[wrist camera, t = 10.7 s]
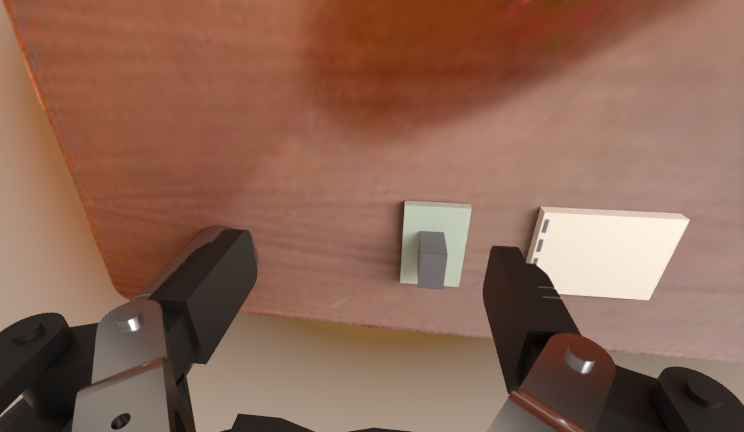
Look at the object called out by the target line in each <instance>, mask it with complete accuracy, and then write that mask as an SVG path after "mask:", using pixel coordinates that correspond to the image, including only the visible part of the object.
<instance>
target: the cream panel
mask: <svg viewBox="0 0 744 432" xmlns="http://www.w3.org/2000/svg"><path fill="white" fill-rule="evenodd" d="M688 222H689V219H688V218H686V217H685V216H683V215H682V214H675V213H655V212H635V211H615V210H596V209H576V208H556V207H540V211H539V215H538V219H537V222H536V226H535V230H534V233H533V237H532V241H531V245H530V248H529V252H528V256H527V259H526V263H530V264H536V265H537V266H538V267H539V268H541V269H542V270H543V271H544V272H545V273H546V274H548V276H549V278H550V280H551V281H552V283H553V285H554V289H556V290H557V292H558V294H568V295H582V296H597V297H611V298H626V299H640V300H649V299H650V297H651V295H652V293H653V291H654V289H655V287H656V285H657V283H658V281H659V279H660V277H661V275H662V274H663V272H664V270H665V268H666V266H667V264H668V262H669V260H670V258H671V256H672V254H673V252H674V250H675V248H676V246H677V244H678V242H679V240H680V238H681V236H682V234H683V232H684V230H685V228H686V226H687V224H688Z"/></svg>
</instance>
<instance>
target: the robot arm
mask: <svg viewBox="0 0 744 432" xmlns="http://www.w3.org/2000/svg"><path fill="white" fill-rule="evenodd" d="M256 278H257V253H256V251H255V248H254V247H253V242H252V236H251V233H250V232H249V231H248V230H239V229H231V228H228V227H222V226H214V227H209V228H207V229H205V230H203V231H202V232H201V233H199V234H198V235H197V236H196V237H195V238H194V239H193V240H192V241H191V242H190V243H189V244H188V245H187V246H186V247H185V248H184V249H183V250H182V251H181V252H180V253H179V254H178V255H177V256H176V257H175V258H174V259H172V260H171V261H170V262H169V263H168V264H167V265H166V266H165V267H164V268H163V269H162V270H161V271H160V272H159V273H158V274H157V275H156V276H155V277H154V278H153V279H152V280H151V281H150V282H149V283H148V284H147V285H146V286H145V287H144V288H143V289H142V290H141V291H140V292H139V293H138V294H137V295H136V296H135V297H133V298H132V299H131V300H130V302H129V303H126V304H124V305H121V306H119V307H117V308H115V309H114V310H112V311H111V312H109V313H108V314H107V315H105V316H104V317H103V318H102V320H101V321H100V322H99V323H94V324H88V325H81V326H75V327H69V326H68V324H67V322H66V320H65V319H64V317H63V316H62V315H61V314H58V313H42V314H38V315H34V316H30V317H28V318H25V319H22V320H20V321H18V322H16V323H14V324H12V325H10V326H9V327H7V328H6V329H4V330H3V331H1V332H0V414H1V413H2V412H3V411H4V410H5V409H6V408H7V407H8V406H9V405H10V404H11V403H12V402H13V401H14V400H15V399H16V398H17V397H18V396H19V395H20V394H22V395H23V398H22V399H21V400H20V401H18V402H17V403H16V404H15V405H14V406H13V407H12V408H10V409H9V410H8V411H7V412H6V413H5V414H4V415H2V416H1V417H0V432H196V429H195V423H194V417H193V411H192V406H191V399H190V394H189V388H188V382H187V377H186V375H187V374H188V372H189V371H190V369H191V368H192V366H193V364H194V363H198V364H206V363H207V362H208V361H209V359H210V357H211V356H212V354H213V352H214V351H215V349H216V347H217V346H218V344H219V342H220V341H221V339H222V338H223V336H224V334H225V333H226V331H227V329H228V328H229V326H230V324H231V323H232V321H233V319H234V318H235V316H236V314H237V313H238V311H239V309H240V308H241V306H242V305H243V303H244V301H245V300H246V298H247V296H248V295H249V293H250V291H251V290H252V288H253V286H254V284H255V282H256ZM483 300H484V305H485V309H486V313H487V316H488V320H489V324H490V328H491V331H492V335H493V339H494V342H495V346H496V350H497V354H498V358H499V361H500V365H501V369H502V373H503V376H504V380H505V384H506V388H507V392H508V394H510V396H509V397H508V399H507V400H506V402H505V404H504V405H503V407H502V408H501V410H500V411H499V413H498V415H497V416H496V418H495V419H494V421H493V423H492V424H491V426H490V427H489V429H488V431H487V432H744V405H743V404H742V403H741V402H740V400H739V399H738V398H737V397H736V396H735V395H734V394H733V393H732V392H730V391H729V390H728V389H727V388H726V387H724V386H723V385H722V384H720V383H719V382H717V381H716V380H714V379H712V378H710V377H709V376H706V375H704V374H702V373H700V372H698V371H695V370H691V369H688V368H684V367H669V368H666V369H664V370H663V371H662V372H661V374H660V375H659V377H658V379H656V378H653V377H650V376H647V375H643V374H641V373H637V372H634V371H631V370H628V369H625V368H622V367H620V366H617V365H615V364H614V362H613V360H612V358H611V357H610V355H609V354H608V353H607V352H606V351H605V350H604V349H603V348H602V347H601V346H600V345H598V344H597V343H595V342H593V341H592V340H590V339H588V338H585V337H583V336H582V335H581V334H580V332H579V330H578V328H577V326H576V325H575V323H574V321H573V319H572V317H571V316H570V314H569V312H568V310H567V308H566V307H565V305H564V303H563V301H562V300H560V296H559V294H558V292H557V290H556V289H554V285H553V283H552V281H551V280H550V278H549V276H548V274H546V273H545V272H544V271H543V270H542V269H541V268H539V267H538V266H537V265H536V264H530V263H526V261H525V259H524V257H523V255H522V253H521V251H520V249H519V248H518V247H508V246H493V247H492V248H491V251H490V256H489V260H488V265H487V270H486V275H485V280H484V285H483ZM222 432H314V431H312V430H309V429H307V428H304V427H302V426H299V425H297V424H294V423H292V422H290V421H287V420H285V419H282V418H275V417H266V416H256V415H247V414H238V415H237V418H236V420H235V422H234V424H233V426H232V429H229V430H225V431H222ZM350 432H409V431H400V430H390V429H381V428H370V429H363V430H357V431H350Z"/></svg>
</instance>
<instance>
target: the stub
mask: <svg viewBox="0 0 744 432" xmlns="http://www.w3.org/2000/svg"><path fill="white" fill-rule="evenodd" d="M471 209H472V208H471V205H470V204H462V203H442V202H422V201H405V207H404V223H403V240H402V257H401V273H400V283H409V284H418V288H427V289H442V290H443V286H452V287H459V283H460V277H461V270H462V264H463V258H464V252H465V246H466V240H467V234H468V228H469V222H470V215H471Z"/></svg>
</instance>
